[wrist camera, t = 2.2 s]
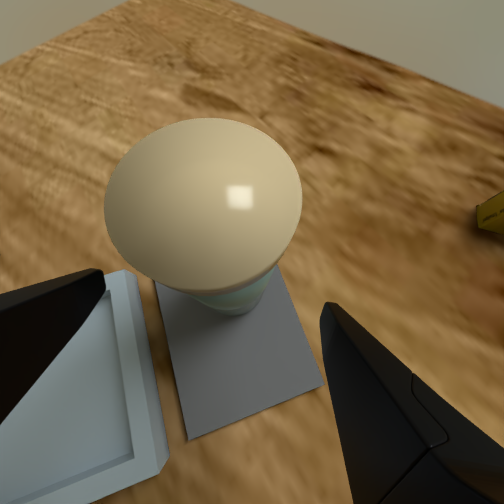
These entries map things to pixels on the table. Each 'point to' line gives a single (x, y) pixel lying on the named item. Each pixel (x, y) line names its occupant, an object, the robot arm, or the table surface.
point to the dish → (89, 412)
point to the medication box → (492, 214)
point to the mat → (236, 356)
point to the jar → (205, 210)
